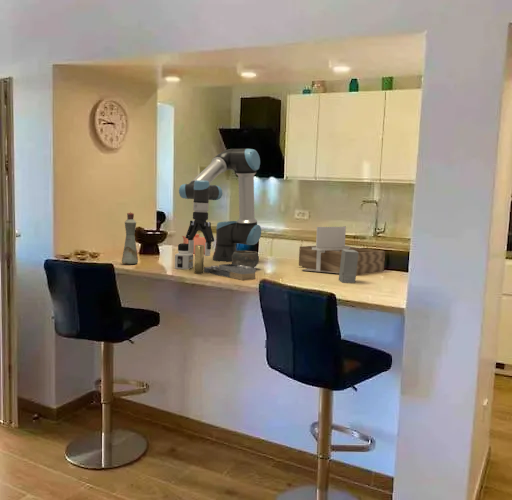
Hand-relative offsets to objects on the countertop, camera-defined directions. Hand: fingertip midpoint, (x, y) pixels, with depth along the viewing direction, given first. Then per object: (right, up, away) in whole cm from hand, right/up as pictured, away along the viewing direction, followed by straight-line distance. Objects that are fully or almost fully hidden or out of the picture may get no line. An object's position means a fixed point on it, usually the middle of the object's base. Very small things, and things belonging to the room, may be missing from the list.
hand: (199, 254), depth 285 cm
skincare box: (+72, -14, -10) cm, 74 cm away
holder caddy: (+75, -9, +33) cm, 83 cm away
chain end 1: (+12, -10, +2) cm, 15 cm away
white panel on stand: (+68, -8, +30) cm, 75 cm away
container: (-10, -8, +18) cm, 21 cm away
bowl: (+22, -9, +18) cm, 30 cm away
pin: (0, -9, +1) cm, 10 cm away
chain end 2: (+19, -11, -6) cm, 23 cm away
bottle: (-41, -5, +27) cm, 49 cm away
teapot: (-10, -1, +78) cm, 79 cm away
